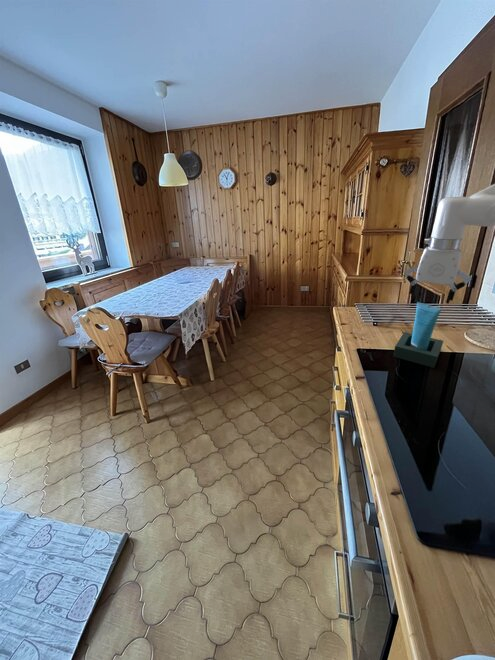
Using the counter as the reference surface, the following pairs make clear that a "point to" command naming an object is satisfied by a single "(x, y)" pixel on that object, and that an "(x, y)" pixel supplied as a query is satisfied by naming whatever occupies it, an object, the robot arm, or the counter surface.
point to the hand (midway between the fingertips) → (429, 299)
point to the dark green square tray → (418, 351)
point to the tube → (424, 325)
